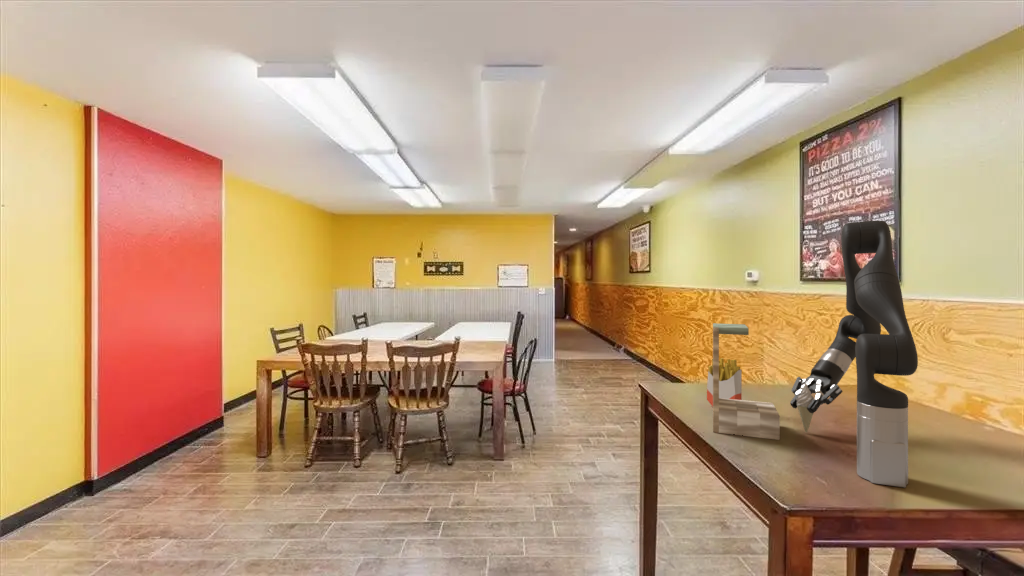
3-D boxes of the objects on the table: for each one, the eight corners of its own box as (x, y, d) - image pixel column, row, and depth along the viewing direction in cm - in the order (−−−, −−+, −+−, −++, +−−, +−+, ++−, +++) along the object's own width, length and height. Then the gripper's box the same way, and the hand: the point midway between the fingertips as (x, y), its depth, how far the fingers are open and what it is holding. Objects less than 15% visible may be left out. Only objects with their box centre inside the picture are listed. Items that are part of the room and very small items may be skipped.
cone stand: (779, 439, 132) (779, 329, 132) (713, 432, 139) (713, 327, 139) (772, 424, 146) (772, 325, 146) (712, 418, 153) (712, 323, 153)
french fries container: (734, 413, 160) (734, 361, 160) (706, 406, 169) (706, 357, 169) (741, 411, 163) (741, 360, 163) (713, 404, 172) (713, 356, 172)
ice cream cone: (810, 429, 140) (810, 380, 140) (819, 434, 135) (819, 384, 135) (793, 429, 140) (792, 380, 140) (801, 434, 135) (801, 384, 135)
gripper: (803, 355, 147) (774, 395, 143) (847, 362, 133) (816, 406, 129) (816, 371, 148) (787, 411, 145) (861, 379, 134) (830, 423, 131)
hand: (801, 408), depth 137 cm, fingers closed on ice cream cone, 5 cm apart
